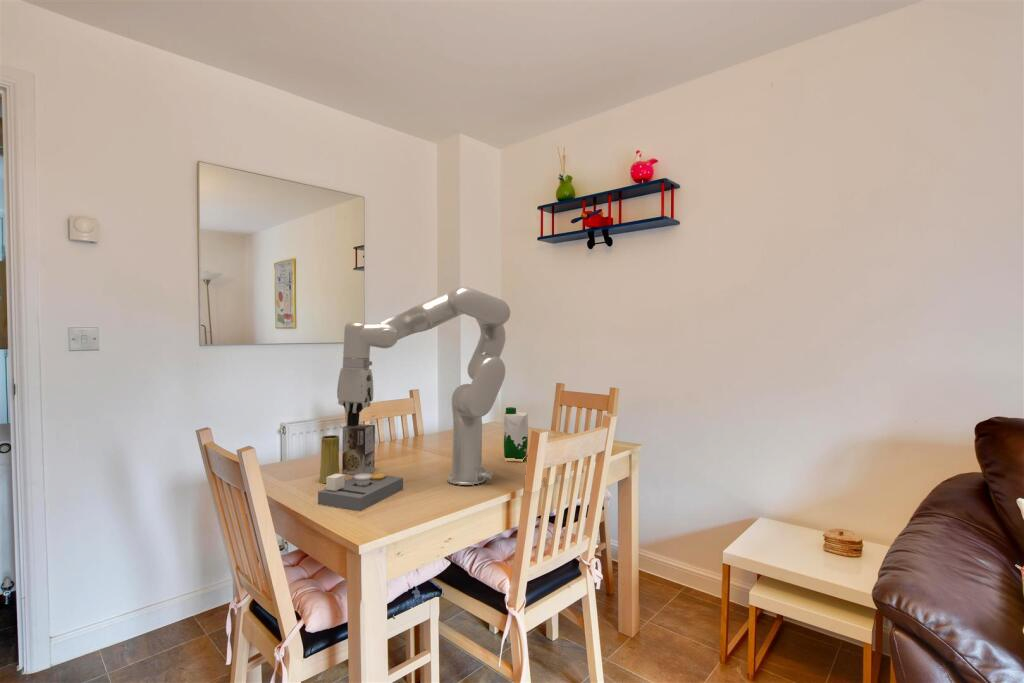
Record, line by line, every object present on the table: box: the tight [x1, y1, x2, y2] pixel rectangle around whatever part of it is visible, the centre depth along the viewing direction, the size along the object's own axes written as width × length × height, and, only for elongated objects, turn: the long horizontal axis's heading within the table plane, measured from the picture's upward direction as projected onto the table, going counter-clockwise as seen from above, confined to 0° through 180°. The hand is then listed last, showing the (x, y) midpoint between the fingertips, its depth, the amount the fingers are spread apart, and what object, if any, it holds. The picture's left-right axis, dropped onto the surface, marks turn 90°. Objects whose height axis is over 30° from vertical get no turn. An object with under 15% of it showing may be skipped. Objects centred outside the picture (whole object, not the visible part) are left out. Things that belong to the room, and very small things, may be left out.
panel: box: [317, 473, 404, 512], centre depth 145 cm, size 14×21×4 cm, turn 160°
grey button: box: [353, 473, 372, 487], centre depth 145 cm, size 5×5×3 cm
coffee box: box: [341, 423, 376, 476], centre depth 170 cm, size 9×6×16 cm
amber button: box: [371, 472, 386, 481], centre depth 152 cm, size 5×5×3 cm
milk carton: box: [503, 406, 529, 459], centre depth 192 cm, size 9×9×20 cm
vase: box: [319, 434, 340, 484], centre depth 159 cm, size 6×6×14 cm
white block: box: [325, 473, 346, 491], centre depth 140 cm, size 3×4×6 cm
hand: (352, 425), depth 148 cm, fingers closed
